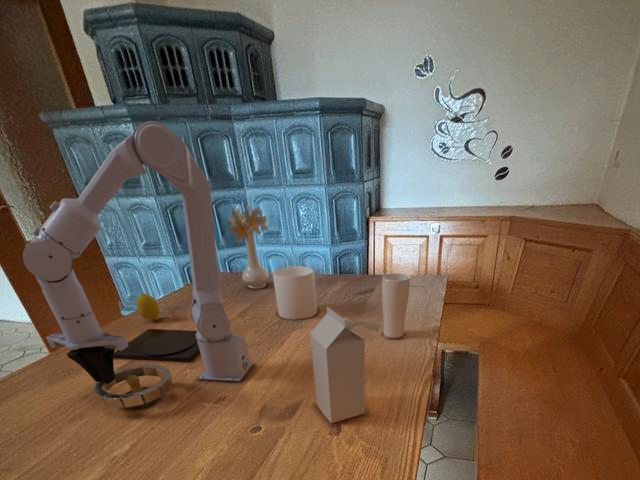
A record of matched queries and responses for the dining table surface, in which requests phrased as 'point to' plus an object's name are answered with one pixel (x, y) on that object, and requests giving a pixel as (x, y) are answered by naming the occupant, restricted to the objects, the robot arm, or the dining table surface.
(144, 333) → the hob plate
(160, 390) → the tan flat ring
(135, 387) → the stand
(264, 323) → the dining table surface
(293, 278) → the cup
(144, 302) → the lemon
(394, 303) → the drinking glass
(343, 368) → the milk carton
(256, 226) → the flower vase
